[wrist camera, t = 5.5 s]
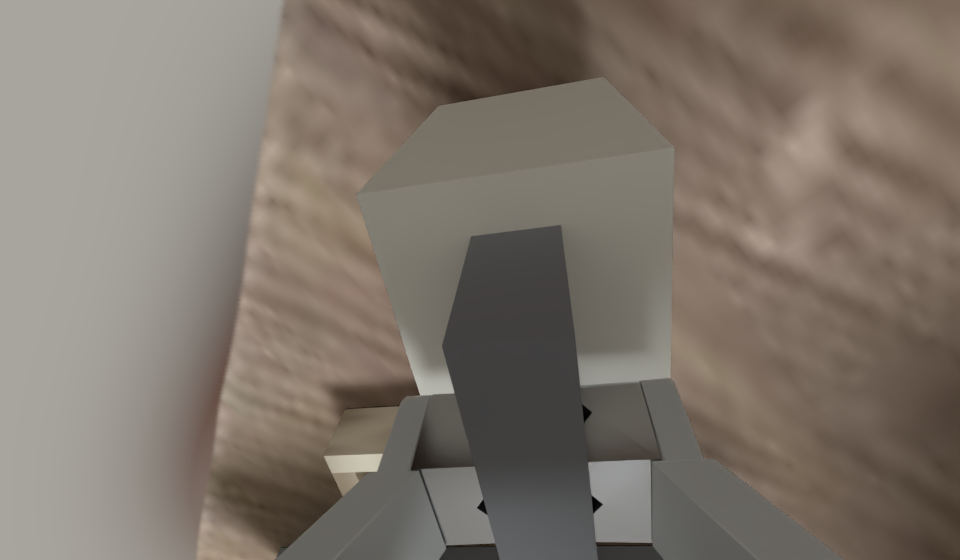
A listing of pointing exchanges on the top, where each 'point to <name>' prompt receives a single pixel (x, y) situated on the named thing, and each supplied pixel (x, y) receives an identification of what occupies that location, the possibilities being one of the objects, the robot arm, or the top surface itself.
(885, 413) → the top surface
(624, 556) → the wall board
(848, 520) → the top surface
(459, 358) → the cream block with tab
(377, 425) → the frame
